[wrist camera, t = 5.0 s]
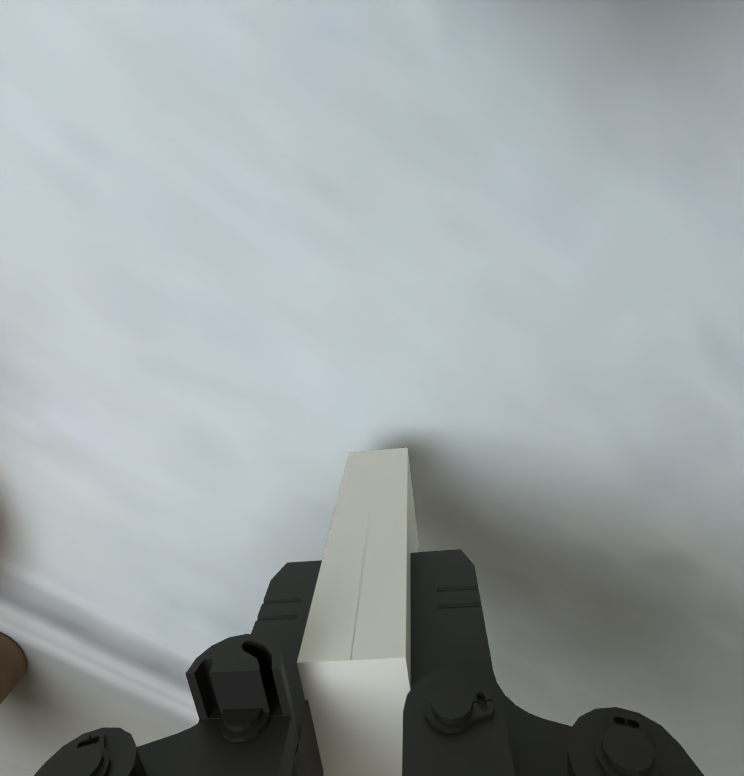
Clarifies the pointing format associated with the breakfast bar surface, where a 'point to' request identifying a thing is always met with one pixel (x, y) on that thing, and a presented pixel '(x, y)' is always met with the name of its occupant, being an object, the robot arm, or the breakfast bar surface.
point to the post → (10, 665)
